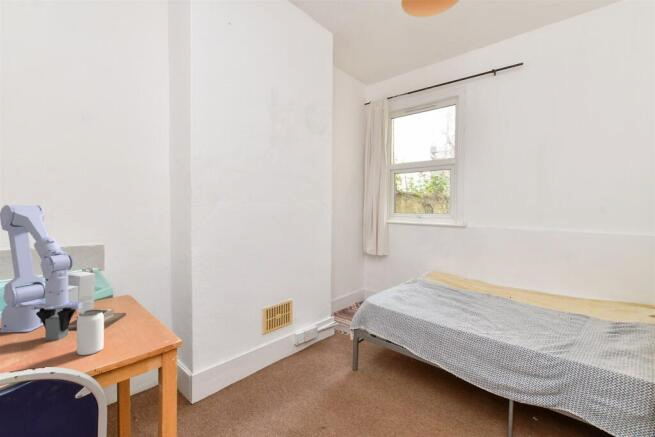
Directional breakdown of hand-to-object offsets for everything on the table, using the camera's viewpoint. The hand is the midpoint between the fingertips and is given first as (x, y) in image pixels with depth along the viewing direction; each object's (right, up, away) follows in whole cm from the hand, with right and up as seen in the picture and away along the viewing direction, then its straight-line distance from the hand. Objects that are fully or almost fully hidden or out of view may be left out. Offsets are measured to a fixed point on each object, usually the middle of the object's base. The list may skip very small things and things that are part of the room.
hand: (57, 330), depth 99 cm
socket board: (+3, -2, +13) cm, 14 cm away
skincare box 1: (-12, -2, +17) cm, 21 cm away
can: (+18, -4, -8) cm, 20 cm away
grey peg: (0, -2, 0) cm, 2 cm away
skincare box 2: (-14, -1, +26) cm, 29 cm away
